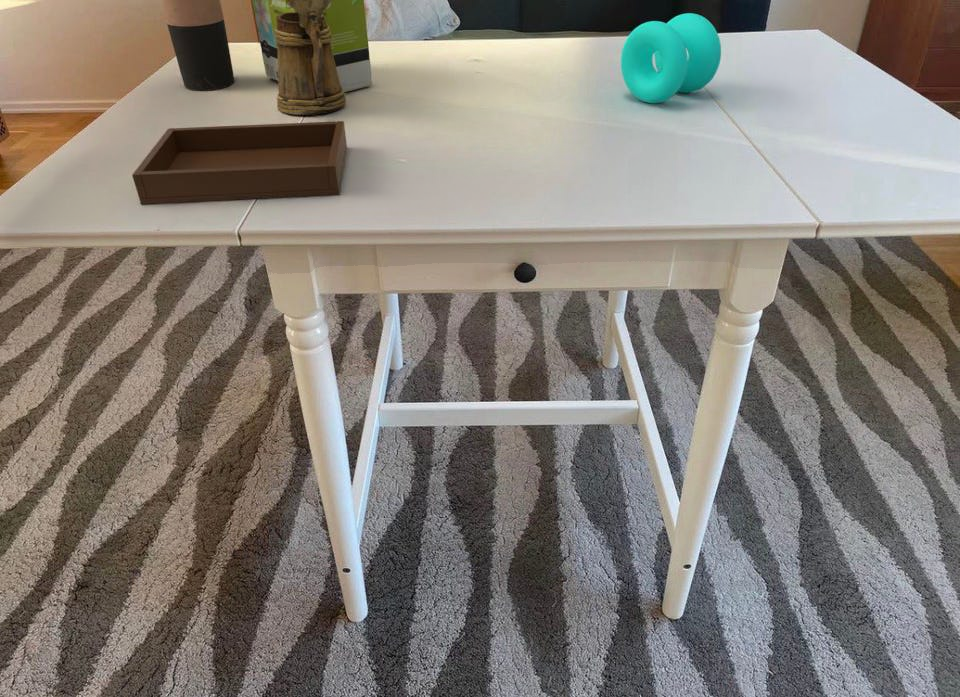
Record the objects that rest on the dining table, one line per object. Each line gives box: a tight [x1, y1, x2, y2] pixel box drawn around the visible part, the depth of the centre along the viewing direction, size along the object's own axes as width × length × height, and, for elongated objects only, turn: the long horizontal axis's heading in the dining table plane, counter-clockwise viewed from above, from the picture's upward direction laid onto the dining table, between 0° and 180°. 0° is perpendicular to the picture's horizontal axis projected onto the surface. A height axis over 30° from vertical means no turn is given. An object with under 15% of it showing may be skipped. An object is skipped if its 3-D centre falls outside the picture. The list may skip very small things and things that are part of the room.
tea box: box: [251, 0, 373, 93], centre depth 102 cm, size 15×10×15 cm, turn 40°
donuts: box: [620, 12, 722, 104], centre depth 96 cm, size 10×10×10 cm
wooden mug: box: [275, 0, 347, 116], centre depth 90 cm, size 9×14×18 cm, turn 27°
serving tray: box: [131, 120, 348, 205], centre depth 77 cm, size 20×14×3 cm
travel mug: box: [160, 0, 235, 92], centre depth 101 cm, size 8×8×20 cm
